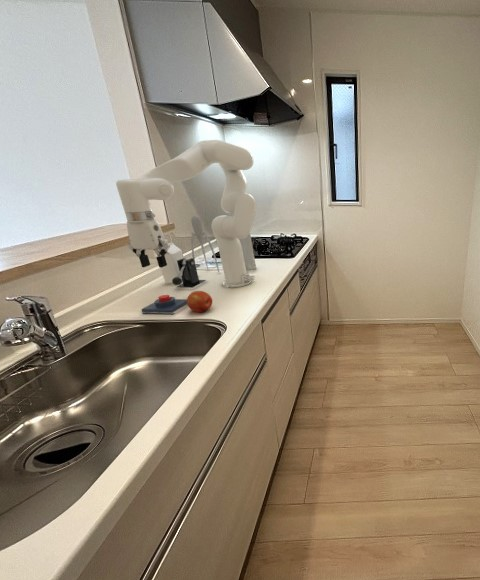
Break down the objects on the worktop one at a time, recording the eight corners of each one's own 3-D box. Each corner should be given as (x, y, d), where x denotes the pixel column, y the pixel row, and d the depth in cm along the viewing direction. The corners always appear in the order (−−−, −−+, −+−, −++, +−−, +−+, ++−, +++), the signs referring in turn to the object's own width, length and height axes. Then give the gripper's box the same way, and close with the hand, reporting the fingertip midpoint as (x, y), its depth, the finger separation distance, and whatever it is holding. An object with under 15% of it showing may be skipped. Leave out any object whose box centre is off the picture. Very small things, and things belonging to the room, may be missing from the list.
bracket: (193, 289, 141) (186, 262, 136) (176, 289, 142) (169, 262, 137) (206, 282, 150) (200, 256, 146) (191, 282, 151) (184, 256, 146)
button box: (190, 304, 125) (188, 295, 124) (172, 315, 116) (170, 305, 115) (162, 303, 126) (159, 294, 125) (142, 314, 117) (139, 304, 116)
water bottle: (259, 268, 171) (252, 222, 162) (249, 272, 164) (240, 224, 155) (246, 266, 174) (238, 221, 165) (235, 270, 167) (226, 223, 158)
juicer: (214, 276, 158) (200, 216, 147) (196, 276, 158) (181, 216, 147) (224, 270, 168) (212, 213, 157) (208, 270, 168) (194, 213, 157)
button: (172, 298, 121) (171, 294, 121) (166, 302, 118) (164, 298, 117) (164, 298, 122) (162, 294, 121) (157, 302, 118) (155, 298, 118)
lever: (181, 286, 137) (176, 282, 134) (173, 286, 137) (168, 282, 134) (193, 263, 144) (188, 258, 141) (186, 263, 144) (181, 258, 141)
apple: (206, 305, 124) (201, 286, 121) (219, 309, 120) (214, 290, 117) (185, 312, 118) (180, 293, 115) (198, 317, 114) (193, 297, 111)
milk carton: (189, 280, 153) (180, 242, 147) (179, 285, 147) (168, 245, 140) (176, 279, 154) (166, 242, 147) (165, 284, 148) (154, 245, 141)
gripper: (171, 215, 111) (183, 263, 118) (126, 215, 113) (141, 263, 119) (155, 218, 104) (169, 269, 111) (107, 218, 106) (124, 269, 112)
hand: (154, 265), depth 115 cm, fingers open, 5 cm apart
